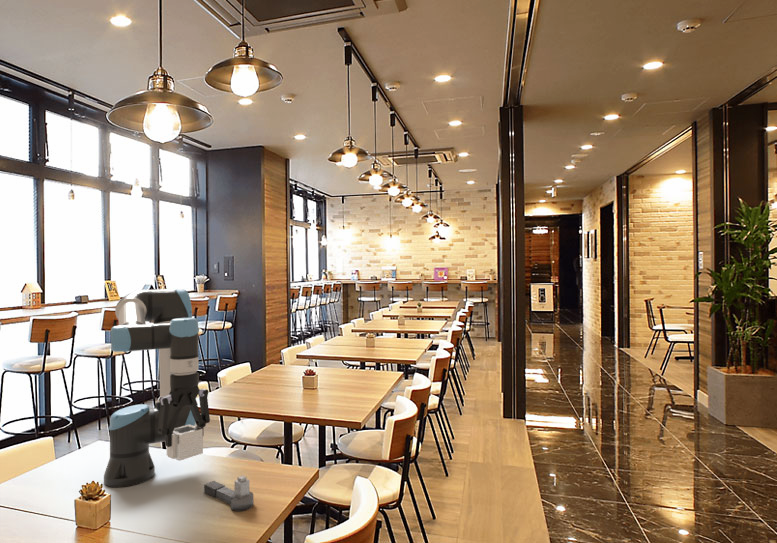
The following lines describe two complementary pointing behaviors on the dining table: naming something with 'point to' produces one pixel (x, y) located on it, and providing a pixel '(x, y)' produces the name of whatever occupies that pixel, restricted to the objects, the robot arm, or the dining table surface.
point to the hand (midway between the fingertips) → (184, 453)
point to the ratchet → (232, 493)
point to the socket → (188, 442)
